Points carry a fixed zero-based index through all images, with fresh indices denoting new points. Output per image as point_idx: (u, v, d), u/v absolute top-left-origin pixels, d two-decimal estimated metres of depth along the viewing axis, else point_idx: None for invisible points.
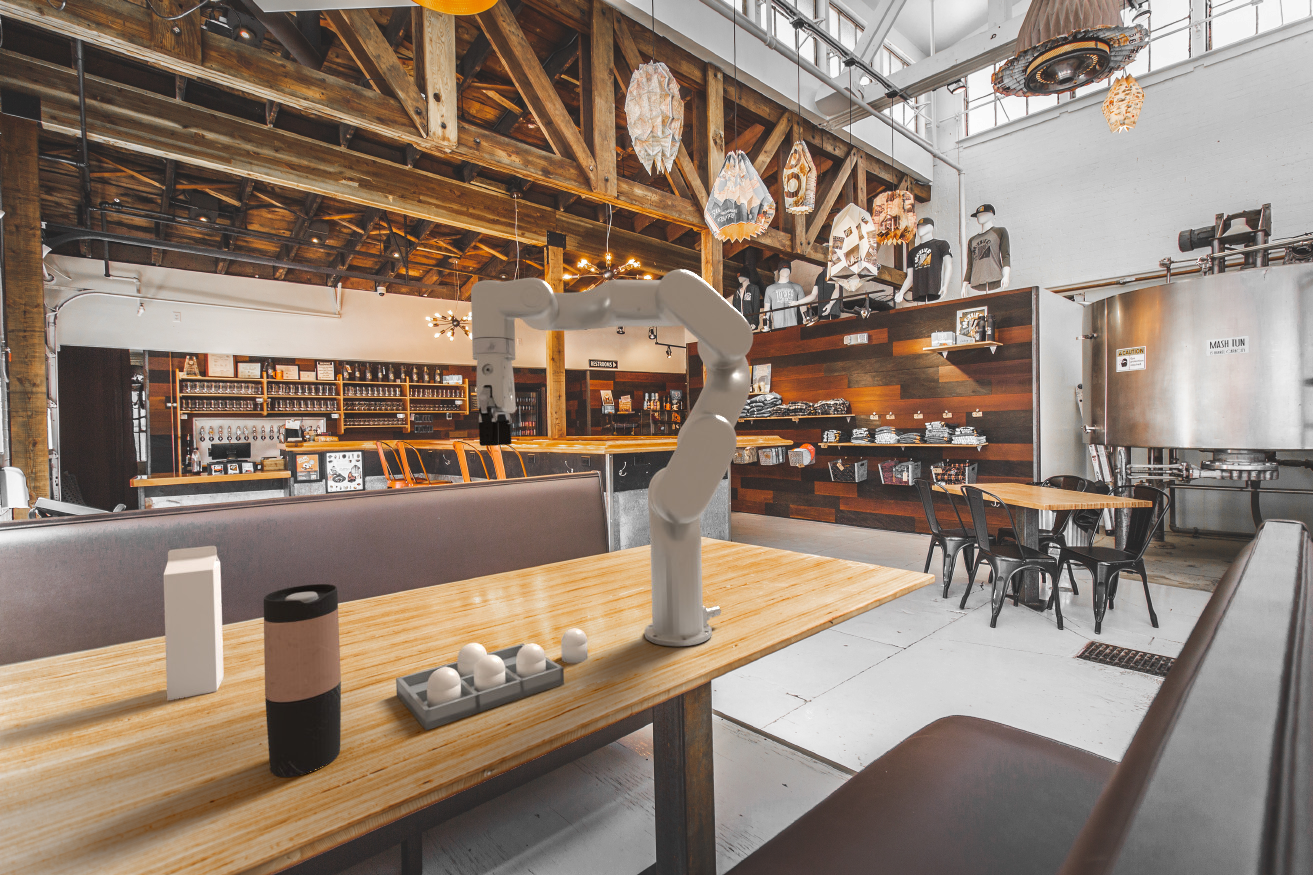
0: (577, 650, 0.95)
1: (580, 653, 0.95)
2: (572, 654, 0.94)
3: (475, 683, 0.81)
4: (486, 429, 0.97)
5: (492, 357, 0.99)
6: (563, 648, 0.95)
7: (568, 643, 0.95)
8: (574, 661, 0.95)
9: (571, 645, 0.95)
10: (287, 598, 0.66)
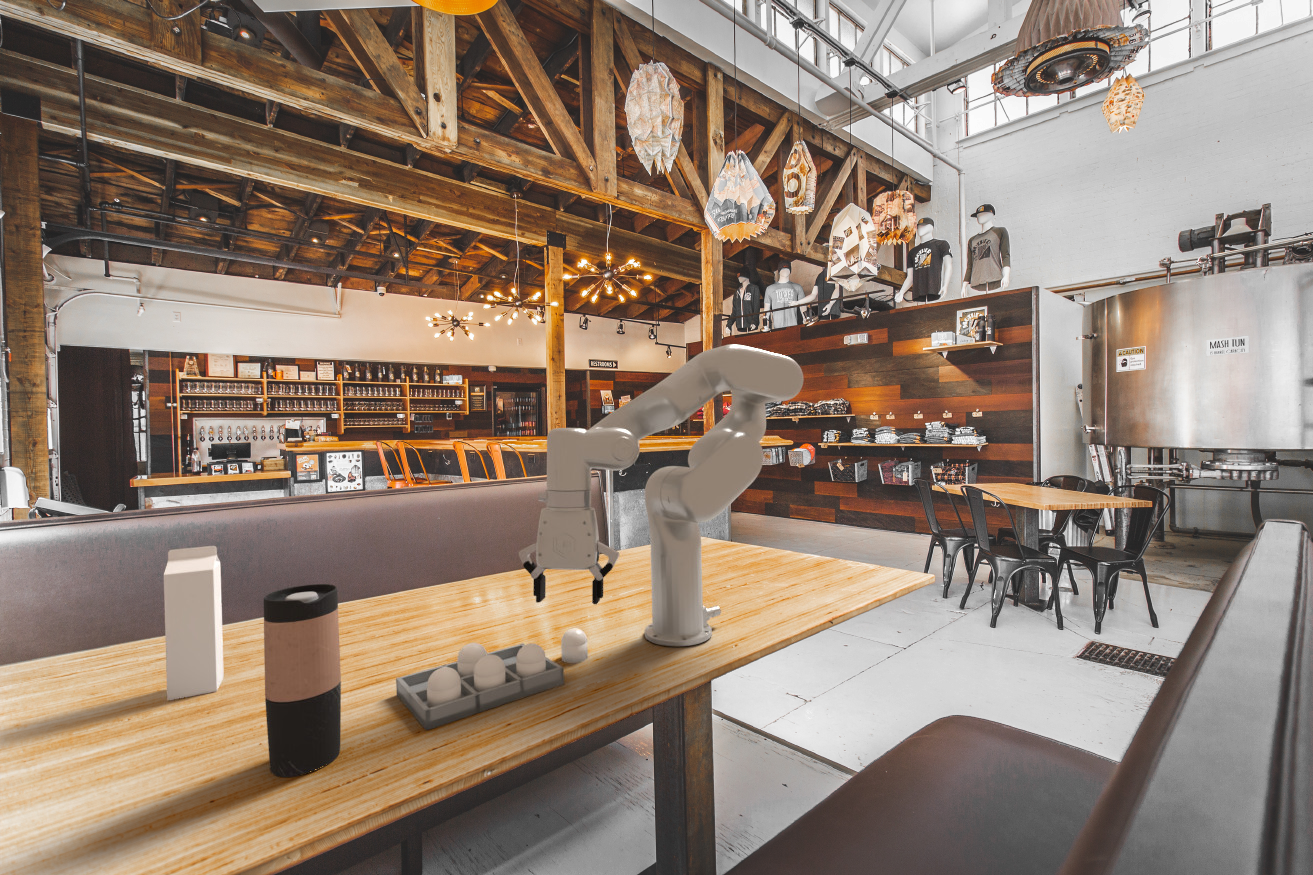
0: (577, 650, 0.95)
1: (580, 653, 0.95)
2: (572, 654, 0.94)
3: (475, 683, 0.81)
4: (535, 583, 0.97)
5: None
6: (563, 648, 0.95)
7: (568, 643, 0.95)
8: (574, 661, 0.95)
9: (571, 645, 0.95)
10: (287, 598, 0.66)
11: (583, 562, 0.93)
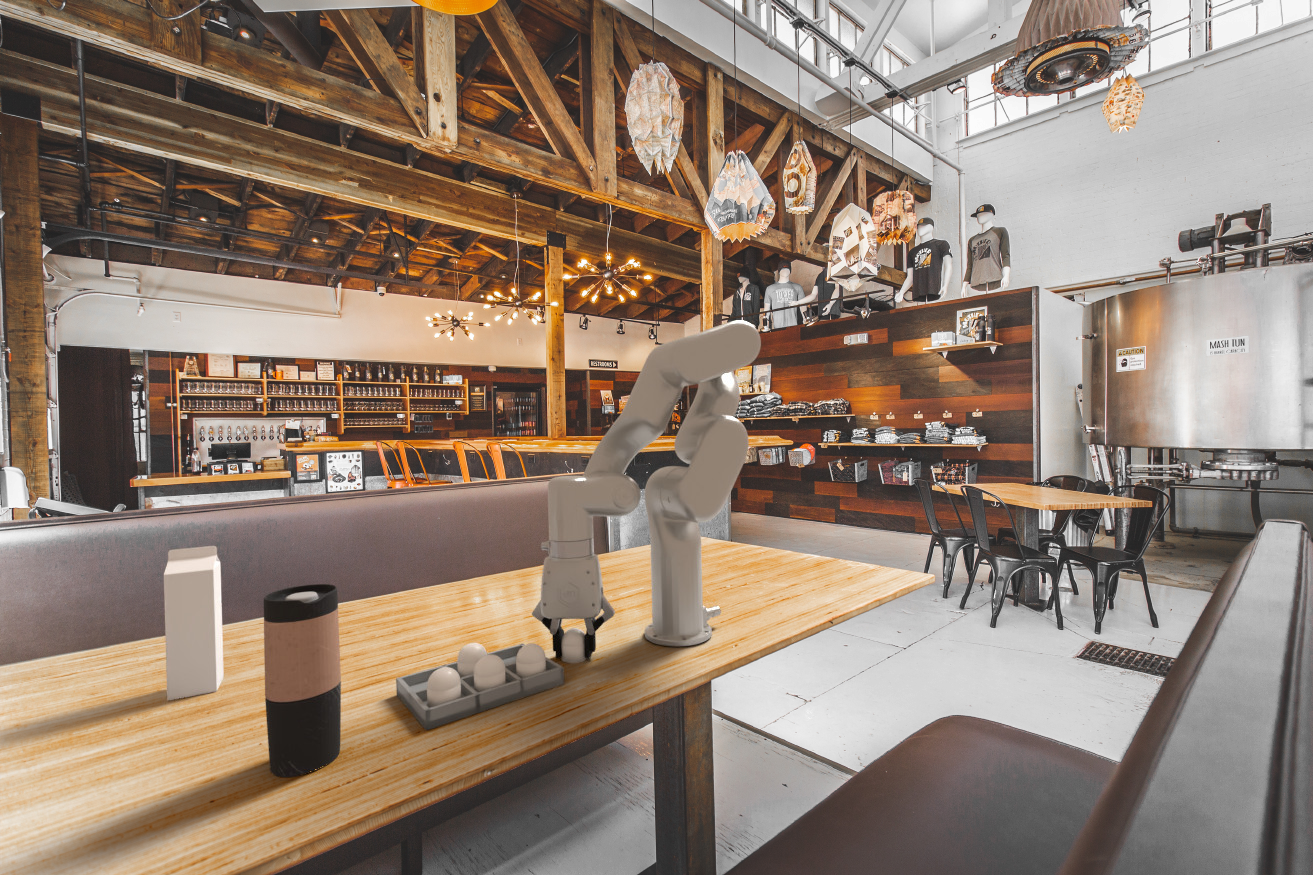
0: (577, 650, 0.95)
1: (580, 653, 0.95)
2: (572, 654, 0.94)
3: (475, 683, 0.81)
4: (554, 638, 0.97)
5: None
6: (563, 648, 0.95)
7: (568, 643, 0.95)
8: (574, 661, 0.95)
9: (571, 645, 0.95)
10: (287, 598, 0.66)
11: (588, 611, 0.94)
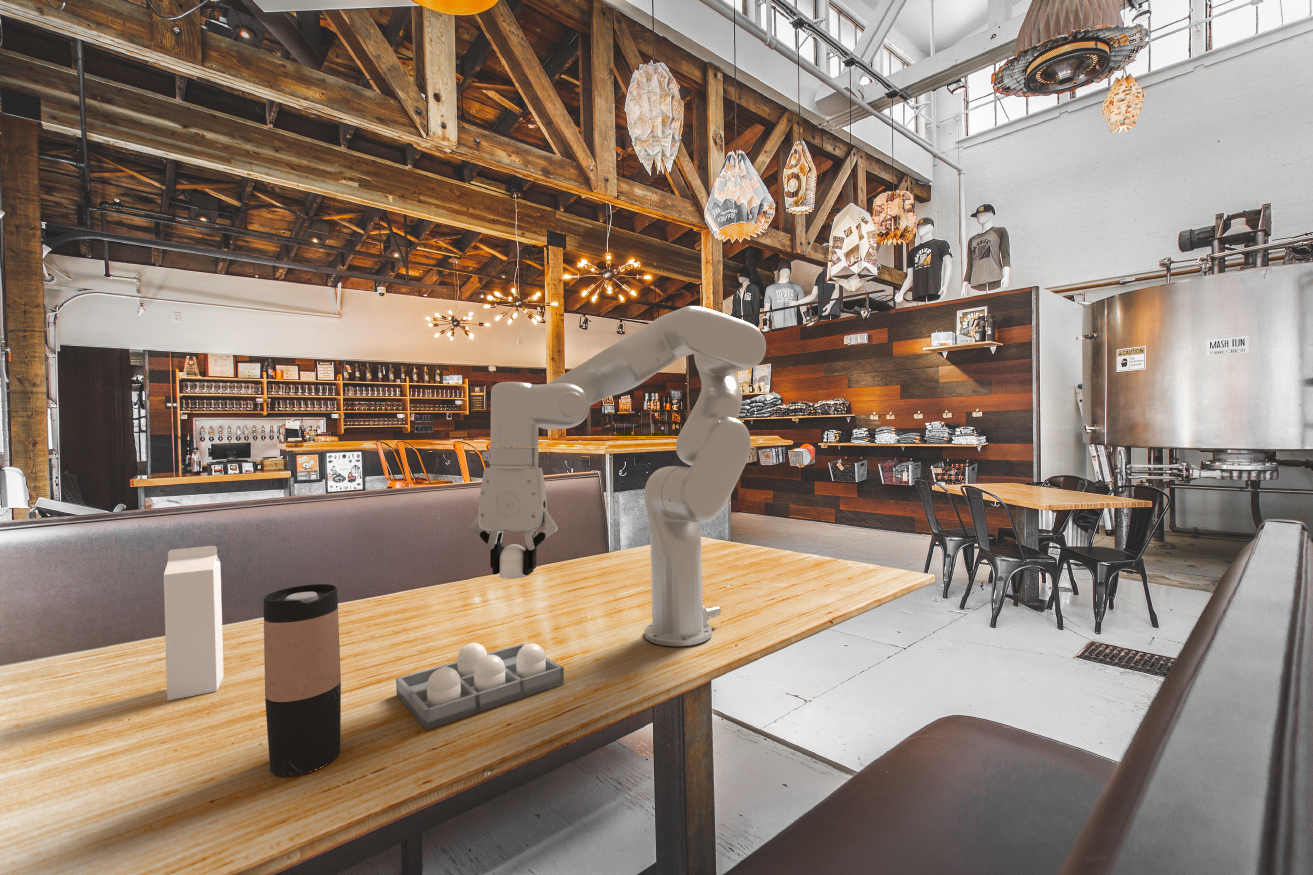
0: (515, 565, 0.89)
1: (518, 568, 0.89)
2: (509, 569, 0.89)
3: (475, 683, 0.81)
4: None
5: None
6: (501, 563, 0.90)
7: (506, 557, 0.89)
8: (512, 577, 0.89)
9: (509, 559, 0.89)
10: (287, 598, 0.66)
11: (527, 523, 0.88)
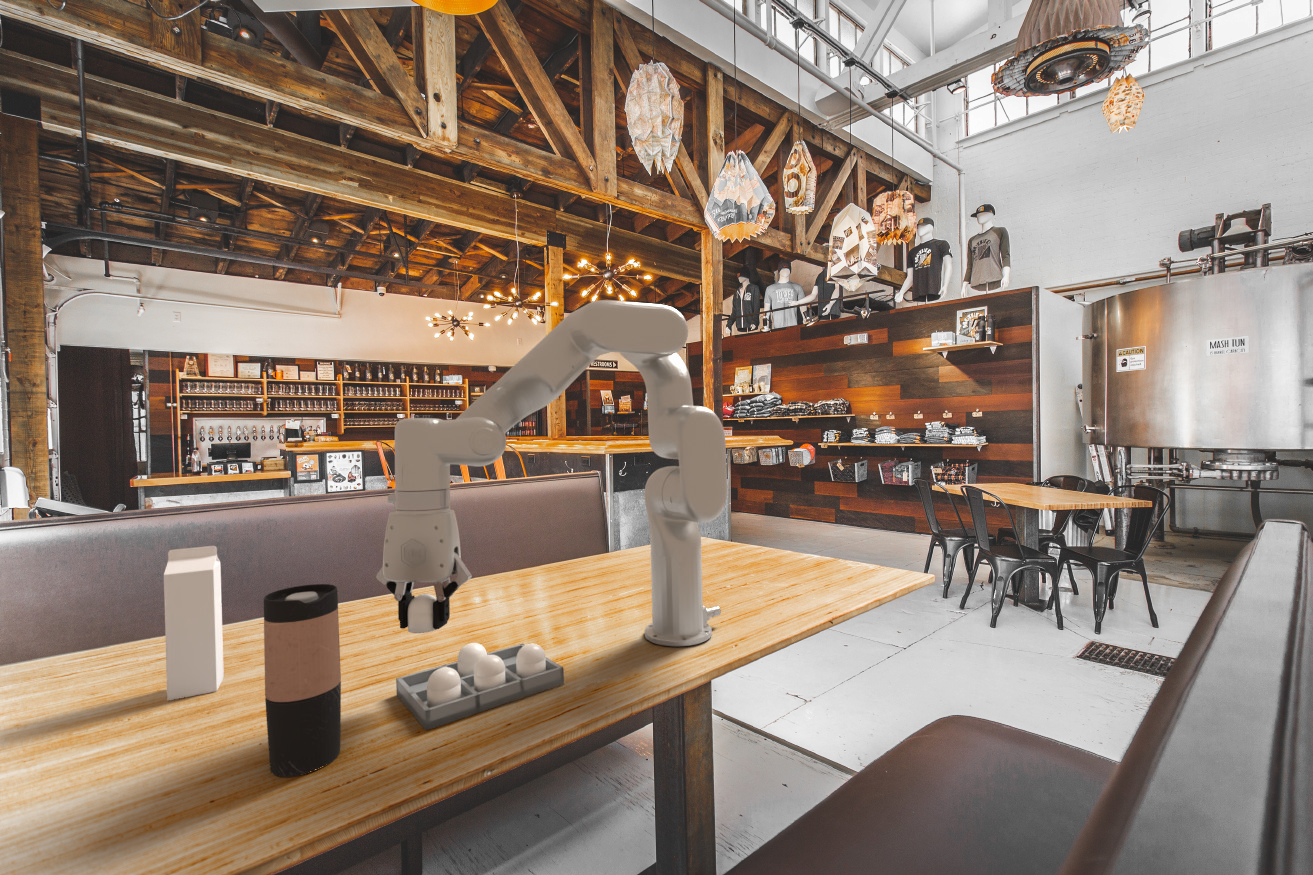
0: (423, 618, 0.81)
1: (427, 622, 0.82)
2: (417, 623, 0.81)
3: (475, 683, 0.81)
4: None
5: None
6: (408, 616, 0.82)
7: (413, 610, 0.82)
8: (420, 631, 0.81)
9: (416, 612, 0.81)
10: (287, 598, 0.66)
11: (435, 573, 0.81)
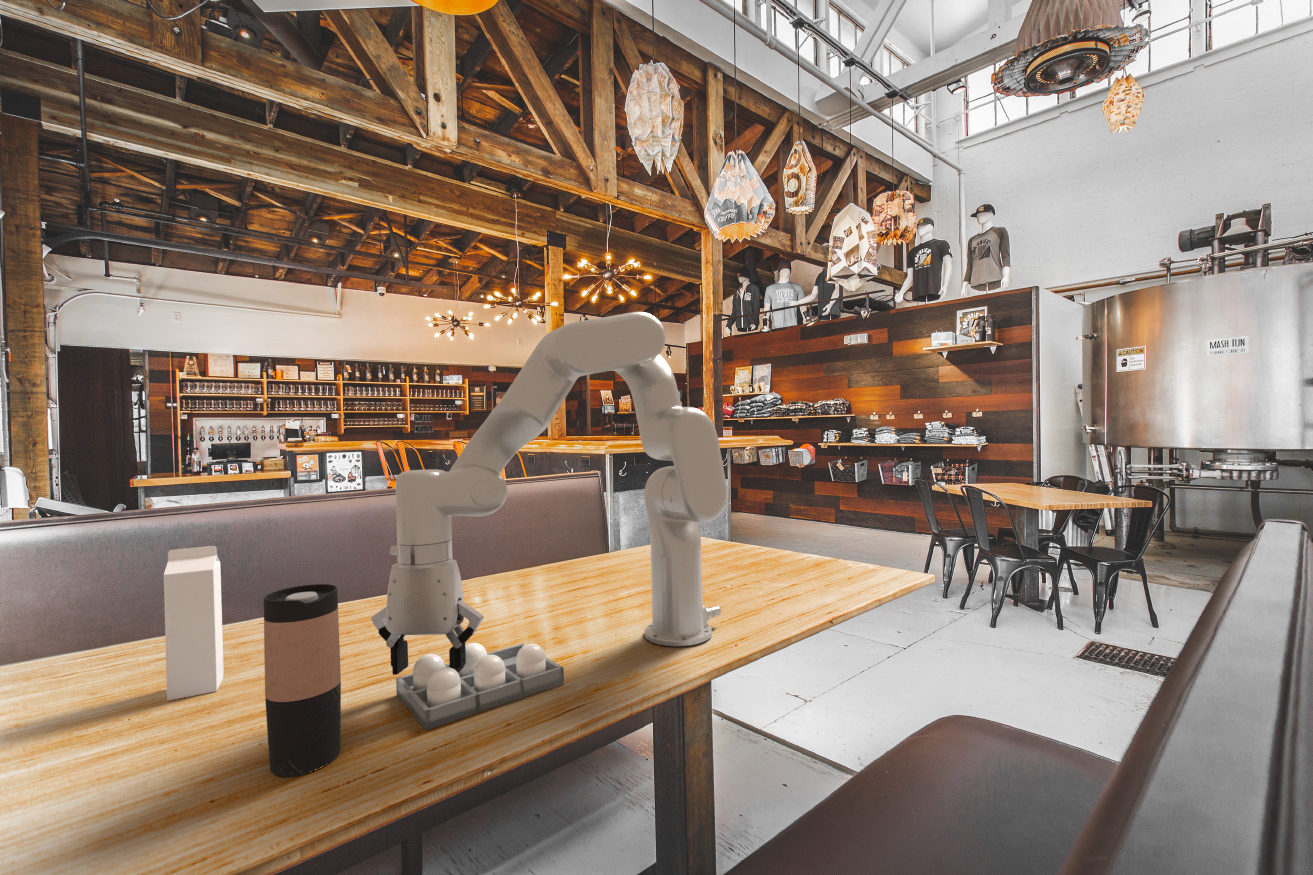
0: None
1: None
2: (423, 685, 0.82)
3: (475, 683, 0.81)
4: None
5: None
6: (414, 678, 0.82)
7: (418, 672, 0.82)
8: None
9: (422, 674, 0.82)
10: (287, 598, 0.66)
11: (439, 626, 0.81)
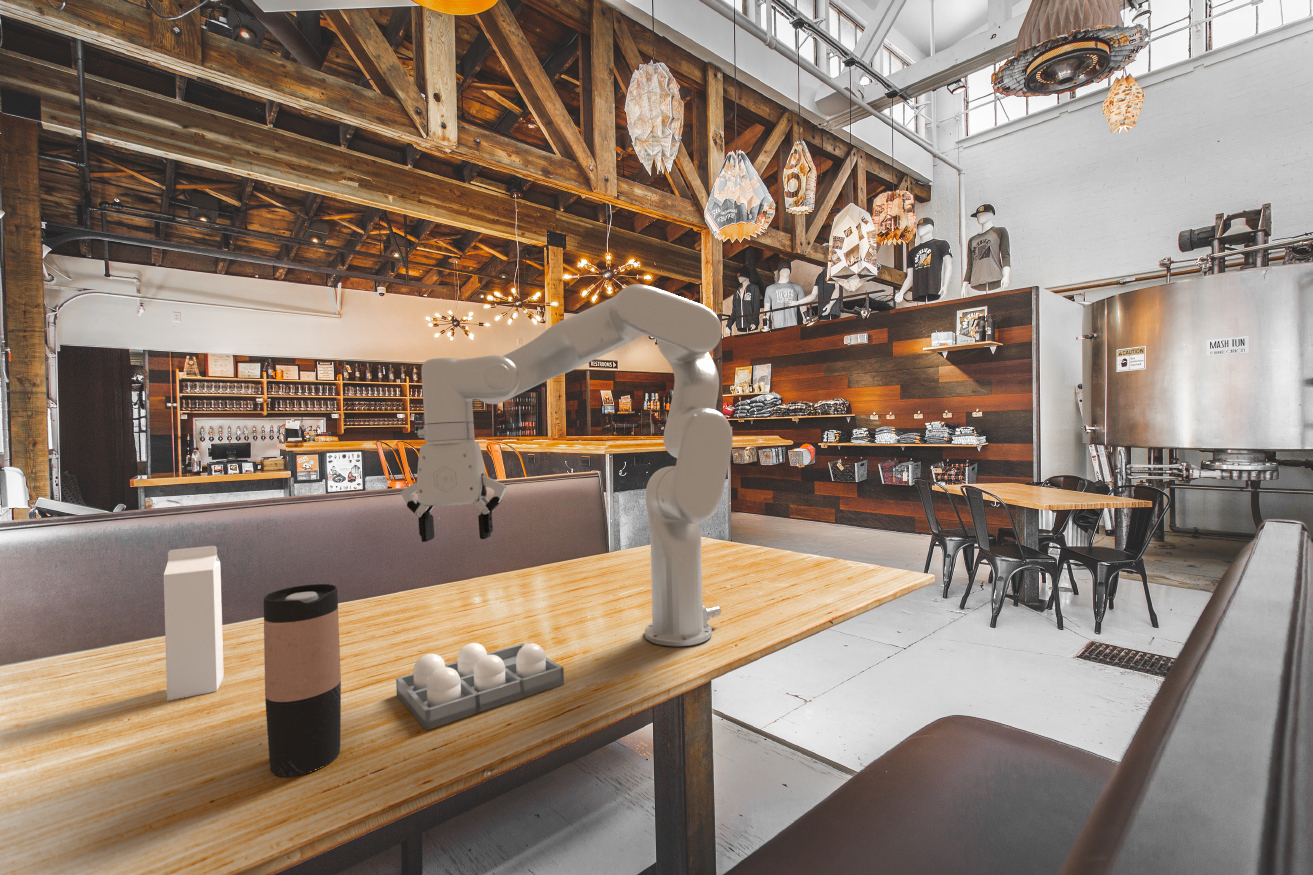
0: None
1: None
2: (423, 684, 0.82)
3: (475, 683, 0.81)
4: None
5: None
6: (414, 677, 0.82)
7: (419, 671, 0.82)
8: None
9: (422, 674, 0.82)
10: (287, 598, 0.66)
11: (466, 496, 0.90)
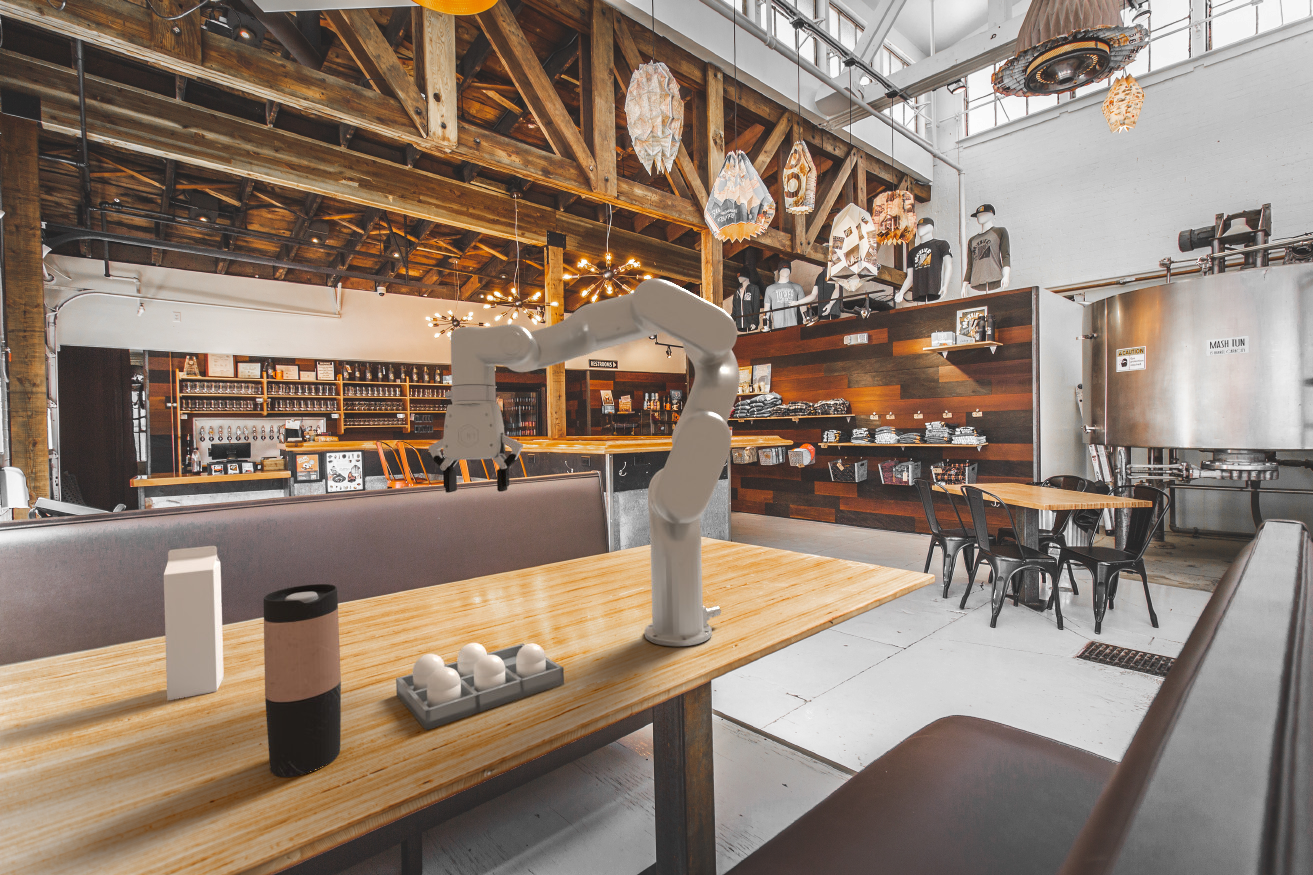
0: None
1: None
2: (424, 685, 0.82)
3: (475, 683, 0.81)
4: None
5: None
6: (414, 678, 0.82)
7: (419, 672, 0.82)
8: None
9: (423, 675, 0.82)
10: (287, 598, 0.66)
11: (486, 451, 1.00)
